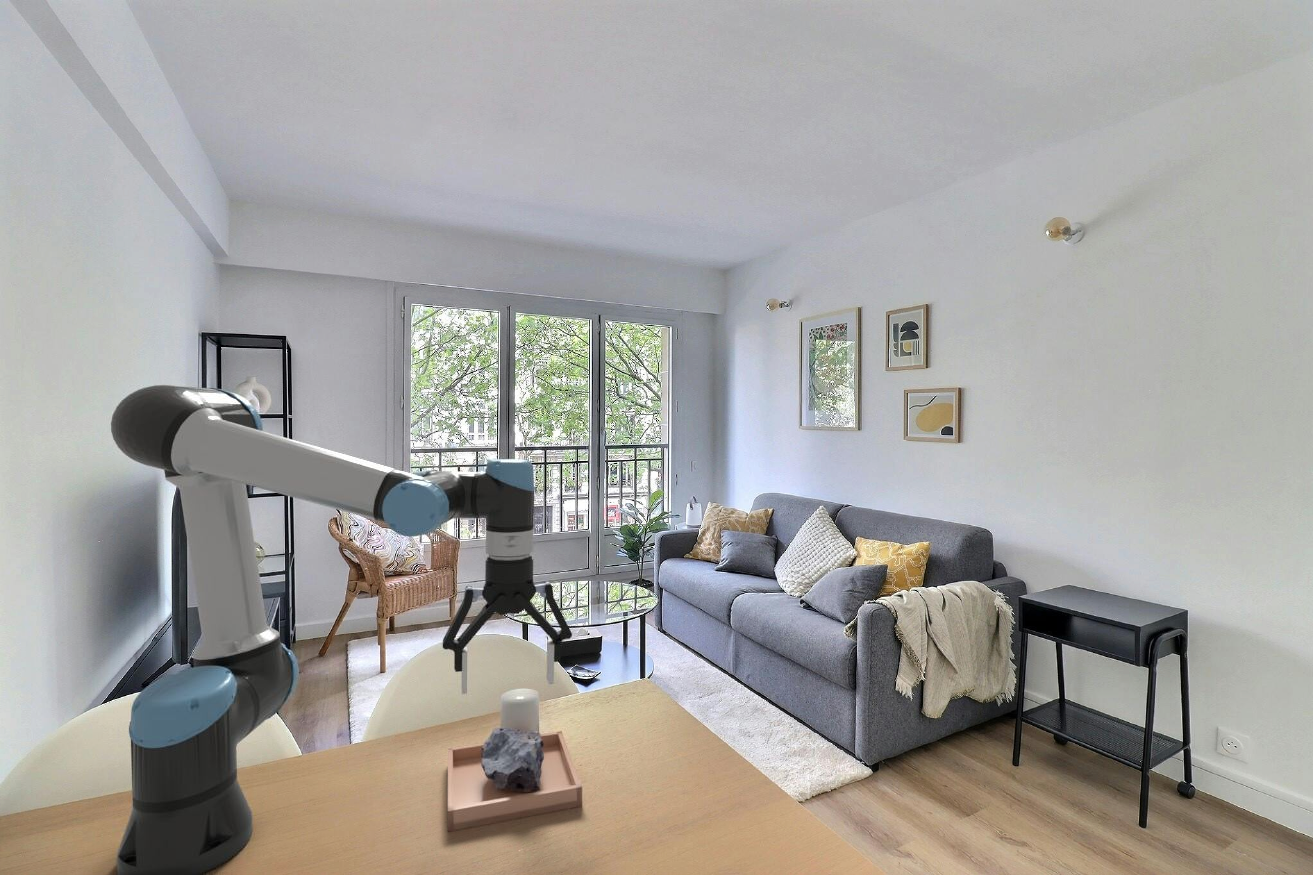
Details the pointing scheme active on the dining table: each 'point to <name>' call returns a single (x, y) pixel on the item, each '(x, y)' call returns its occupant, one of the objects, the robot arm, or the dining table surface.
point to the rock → (513, 759)
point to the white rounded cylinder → (520, 709)
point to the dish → (485, 804)
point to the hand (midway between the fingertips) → (508, 685)
